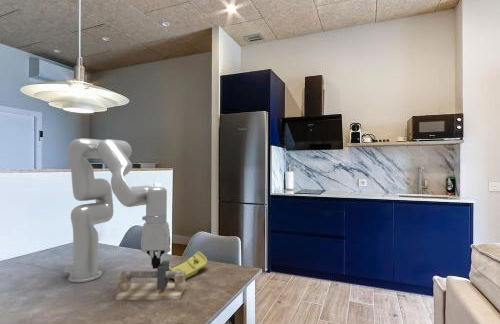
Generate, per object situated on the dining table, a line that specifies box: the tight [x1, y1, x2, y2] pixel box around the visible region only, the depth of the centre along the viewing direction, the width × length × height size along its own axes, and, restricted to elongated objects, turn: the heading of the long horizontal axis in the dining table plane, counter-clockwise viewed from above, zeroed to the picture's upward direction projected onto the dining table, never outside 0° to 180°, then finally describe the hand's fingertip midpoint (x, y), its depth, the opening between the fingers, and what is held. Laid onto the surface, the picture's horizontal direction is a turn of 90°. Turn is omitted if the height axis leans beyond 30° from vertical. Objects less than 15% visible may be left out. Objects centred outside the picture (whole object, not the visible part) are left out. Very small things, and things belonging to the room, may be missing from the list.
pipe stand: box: [115, 270, 186, 301], centre depth 111 cm, size 24×11×8 cm, turn 92°
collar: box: [156, 260, 170, 290], centre depth 111 cm, size 2×8×8 cm, turn 2°
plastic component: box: [169, 250, 208, 281], centre depth 131 cm, size 20×7×10 cm
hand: (155, 267), depth 111 cm, fingers closed
